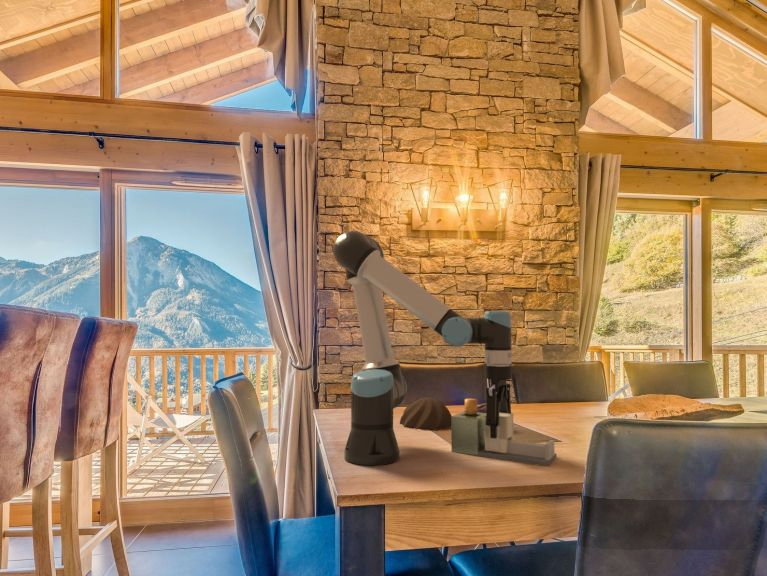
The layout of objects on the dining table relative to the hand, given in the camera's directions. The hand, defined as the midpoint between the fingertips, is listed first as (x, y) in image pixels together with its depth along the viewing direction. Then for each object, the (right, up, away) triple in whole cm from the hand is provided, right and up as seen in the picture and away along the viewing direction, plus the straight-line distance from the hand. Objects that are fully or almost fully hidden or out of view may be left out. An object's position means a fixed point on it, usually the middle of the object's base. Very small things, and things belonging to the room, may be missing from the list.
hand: (499, 446), depth 142 cm
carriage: (0, -1, 0) cm, 1 cm away
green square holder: (-7, -2, +4) cm, 9 cm away
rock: (+3, -5, +33) cm, 33 cm away
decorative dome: (-17, -5, +41) cm, 45 cm away
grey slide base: (+4, -2, -3) cm, 5 cm away
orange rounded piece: (-7, +8, +5) cm, 12 cm away
